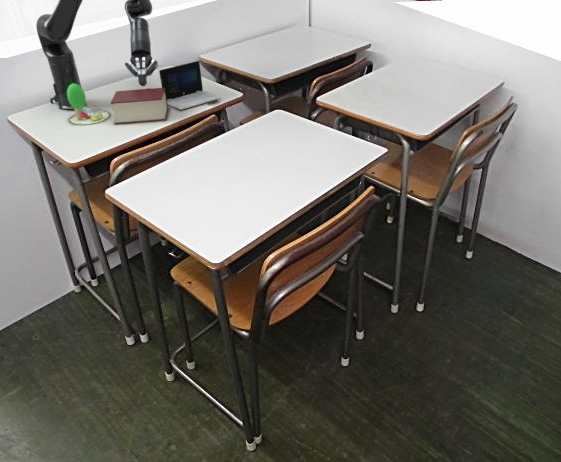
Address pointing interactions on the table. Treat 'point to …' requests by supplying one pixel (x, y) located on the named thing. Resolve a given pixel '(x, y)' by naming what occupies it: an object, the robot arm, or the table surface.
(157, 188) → the table surface
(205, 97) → the laptop
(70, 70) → the robot arm
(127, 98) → the thick red book
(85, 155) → the table surface
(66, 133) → the table surface
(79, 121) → the train set
